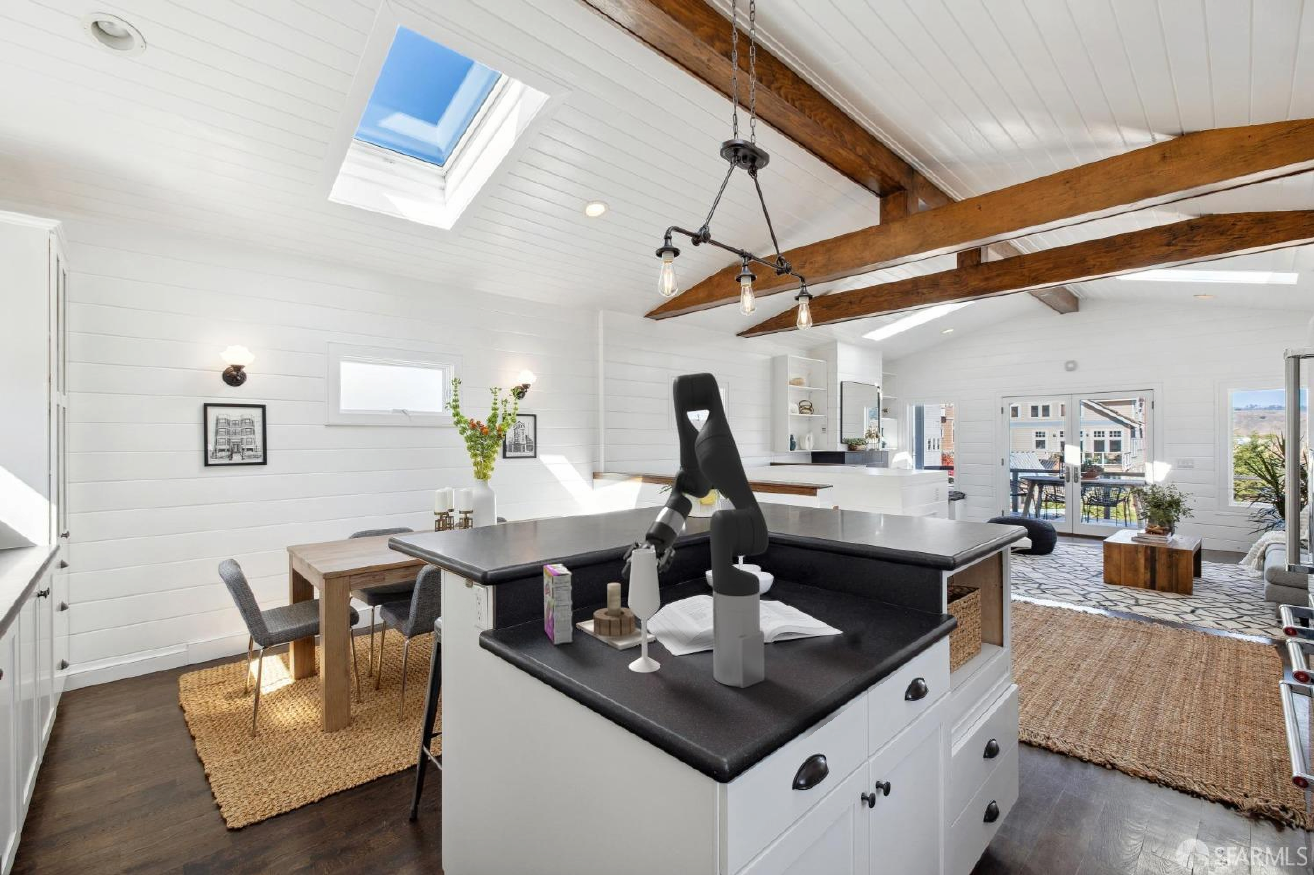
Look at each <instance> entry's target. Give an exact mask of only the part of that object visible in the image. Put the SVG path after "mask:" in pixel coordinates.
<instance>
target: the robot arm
mask: <svg viewBox="0 0 1314 875" xmlns="http://www.w3.org/2000/svg"><path fill="white" fill-rule="evenodd" d="M672 398H673V399H672V400H673V407H674V413H675V422H676V428H677V432H678V434H677V435H678V438H679V465H680V469H679V470H678V471H677V472H676V473H675V476H674V480H673V485H672V488H671V491H670V494H669V497H668V498H667V500H666V502H665V504H664V505H663V507H662V509H661V510H660V512H659V513H658V514H657V516H656V517H655V518H654V521H653V522H652V523H651V525H650V527H649V529H648V530H647V532H646V534H645V540H644V541H643V542H642V543H639V542H638V541H636V540H635V541H634V542H632V544H631V546H630V547H629V549H627V551H626V553H625V554H624V556H623V560H624V561H625V562H626V564H625V565H624V567H623V568H622V571H621V574H620V575H621V576H622V578H623V579H625V580H628V579H629V578H630V574H631V562H632V551H633V550H637V549H651V550H655V556H656V566H657V576H659V574H660V573H661V572H663V571H664V573H666V572H668V571H669V569H670V567H671V566H672V563H673V561H674V559H675V557H676V555H677V552H676V551H675V549H674V548H673V547H672V546H673V545H674V544H675V542H676V540H677V538H678V536H679V535H680V533H681V531H682V529H683V526H684V524H685V522H686V520H687V519H688V516H689V515H690V513H691V512H692V510H693V503H692V501H691V500H690V498H688V497H687V496H685V495H684V494H686V495H688V496H691V497H694V498H696V499H704V498H706V497H707V496H708V495H709V494H710V492H711V489H712V486H713V487H715V488H716V489H717V490H718V491H720V493H722V494H723V495H724V496H725V497H726V499H728V500H729V501H730V503H731V504H732V505H733V507H734V509H720V510H719V509H718V510H715V511H714V512H713V513H712V515H711V517H710V520H709V539H710V540H709V542H710V543H709V544H710V557H711V577H712V578H711V579H712V634H713V635H712V643H713V644H712V650H713V651H712V652H713V654H712V655H713V656H712V658H713V659H712V660H713V668H712V669H713V679H715V680H716V681H717V682H718V683H721V684H722V685H727V686H731V687H738V688H741V689H744V688H747V687H750V686H752V685H756V684H758V683H760V682H764V681H765V633H764V631H763V630H761V618H760V617H761V613H760V612H761V611H760V610H761V609H760V608H761V607H760V606H761V600H760V598H761V594H760V593H761V592H760V591H761V590H760V588H761V587H760V586H761V585H760V583H761V582H760V579H759V576H758V575H757V574H754V573H752V572H749V571H746V570H743V569H740V568H738V567H736V566H735V565H734V563H733V557H748V556H749V557H750V556H757V555H762V554H764V553H765V552H766V551H767V549H768V547H769V536H770V535H769V531H768V530H769V529H768V525H767V523H766V522H767V521H766V519H765V516H764V514H763V512H762V509H761V507H760V505H759V502H758V501H757V499H756V496H755V494H754V492H753V490H752V488H751V485H750V483H749V480H748V478H747V475H746V472H745V470H744V466H743V463H742V459H741V456H740V452H739V448H738V447H737V443H736V440H735V438H734V436H733V433H732V430H731V428H730V425H729V422H728V419H727V416H726V411H725V410H724V404H723V401H722V397H721V392H720V388H719V385H718V382H717V379H716V377H715V376H714V374H712V373H711V372H700V373H691V374H683V375H678V376H676V377H675V378H674V379H673V383H672ZM699 411H708V414H707V417H706V420H705V422H704V423H703V426H702V428H701V429H700V430H699V429H697V428H696V427H695V425H694V424H693V423H692V421H691V419H690V418H689V415H688V413H689V412H699Z"/></svg>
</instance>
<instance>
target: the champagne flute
mask: <svg viewBox="0 0 1314 875" xmlns="http://www.w3.org/2000/svg"><path fill="white" fill-rule="evenodd" d="M658 576H659V575H657V566H656V556H655V550H651V549H637V550H633V551H632V562H631V574H630V576H629V586H628V587H629V588H628V589H629V590H628V599H627V600H628V601H627V605H628V607H629V608H628V609H630V610H631V611H632V612H633V613H634V614H635V617H637V618H638V619H639V620H641V630H642V644H641V656H640V657H639V658H638V659H635V661H632V662H631V663H629V665H628V669H629V670H631V671H633V672H637V673H652V672H655V671H658V670H659V669H661V667H660V665H661V664H660V663H659V662H658V661H656V660H654V659H652V658H651V657H649V656H648V643H647V633H648V620H649V619H651V618H652V617H653V616H654V615H655V614H656V613H657V611H658V610H659V608H660V607H661V599H660V597H661V596H660V588H659V578H658Z"/></svg>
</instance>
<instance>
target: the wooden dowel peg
mask: <svg viewBox="0 0 1314 875" xmlns="http://www.w3.org/2000/svg"><path fill="white" fill-rule="evenodd" d="M606 588H607V593H606V594H607V598H606V599H607V608H608V616H621V607H622V606H621V605H622V604H621V602H622V599H621V596H622V595H621V593H622V591H621V590H622V589H621V583H619V582H610V583H607V587H606Z"/></svg>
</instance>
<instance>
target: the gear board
mask: <svg viewBox="0 0 1314 875" xmlns="http://www.w3.org/2000/svg"><path fill="white" fill-rule="evenodd" d="M575 627H577V629H578V630H580V629H581V631H582V630H583V633H586V634H588V635H590V636H591V637H594V638H596V639H597V640H600V641H602V642H604V643H606V644H607V643H608V644H607V645H609V646H611V647H613V648H616V649H617V650H619V651H621V650H625V649H628V648H633V647H635V646H636V645H637V646H640V645H639V644H641V645H642V629H640V628H637V627H636V615H635V614H634V613H633V612H632V611H631V610H630V608H628V607H622V606H621V616H608V607H606V608H600V609H597V610H595V611H594V612H593V619H590V620H585V621H582V622H577V623H576V626H575ZM654 640H655V641H656V635H654V634H651V633H649V632H647V644H648V643H652V642H655V641H654Z"/></svg>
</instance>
